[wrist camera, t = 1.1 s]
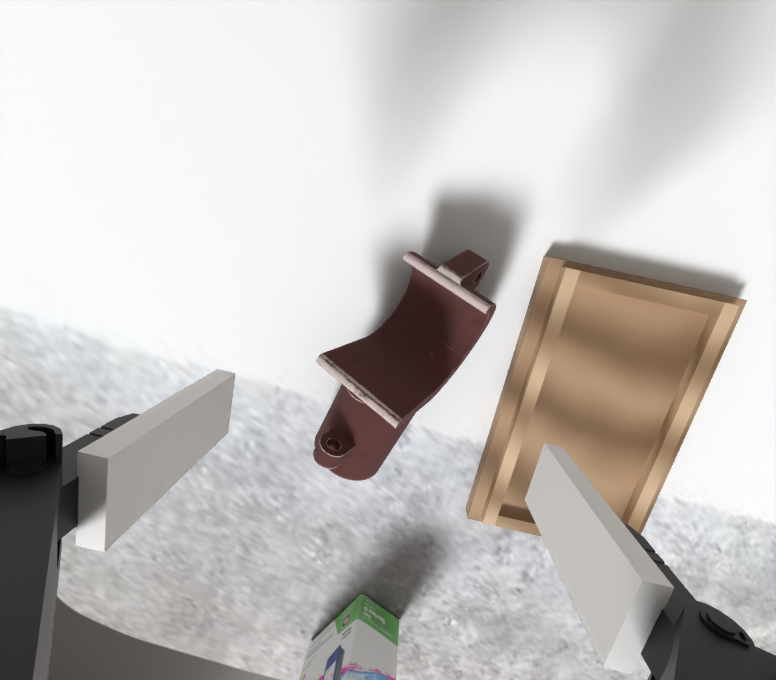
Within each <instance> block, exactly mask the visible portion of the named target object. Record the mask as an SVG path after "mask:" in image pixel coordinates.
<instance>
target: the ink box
mask: <svg viewBox="0 0 776 680" xmlns="http://www.w3.org/2000/svg"><path fill="white" fill-rule="evenodd" d="M398 632H399V619H397V618H396V617H395V616H393V615H392V614H390V613H389V612H388V611H386V610H385V609H383V608H382V607H381V606H379V605H378V604H377V603H375V602H374V601H372V600H371V599H370V598H368V597H367V596H365V595H364V594H360V595H359V596H358V597H357V598H356V599H355V600H354V601H353V602H352V603H351V604H350V605H349V606H348V607H347V608H346V609H345V610H344V611H343V612H342V613H341V614H340V615H339V616H338V617H336V618H335V620H333V621H332V622H331V623H330V624H329V625H328V626H327V627H326V628H325V629H324V630H323V631H322V632H321V633H320V634H319V635H318V636H317V637H316V638H315V639H314V640H313V641H312V642H310V644H309V647H308V651H307V654H306V658H305V661H304V665H303V668H302V672H301V675H300V679H299V680H396V667H397V649H398Z"/></svg>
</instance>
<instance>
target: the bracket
mask: <svg viewBox="0 0 776 680" xmlns="http://www.w3.org/2000/svg"><path fill="white" fill-rule="evenodd" d="M403 260H404V261H406V262H407V263H409V264H410V265H411V266H412V275H411V280H410V283H409V286H408V288H407V291H406V293H405V295H404V297H403V298H402V300H401V302H400V304H399V305H398V307H397V308H396V310H395V311H394V312H393V314H392V315H391V316H390V317H389V319H388V320H387V321H386V322H385V323H384V324H383V325H382V326H381V327H380V328H379V329H378V330H376V331H375V332H374V333H372V334H371V335H369V336H367V337H365V338H362V339H360V340H357V341H354V342H352V343H349V344H346V345H344V346H341V347H338V348H335V349H333V350H330V351H327V352H325V353H322V354H321V355H320V356H319V357H318V358H317V360H316V362H317V363H318V364H319V365H320V366H321V367H323V368H324V369H325V370H326V371H327V372H329V373H330V374H331V375H332V376H333V377H335V378H336V379H337V380H338V381H339V382H341V383H342V386H341V388H340V390H339V392H338V394H337V396H336V397H335V399H334V401H333V403H332V405H331V407H330V409H329V411H328V413H327V415H326V417H325V419H324V421H323V423H322V425H321V427H320V429H319V431H318V433H317V435H316V437H315V450H314V452H313V456H314V459H315V461H316V462H317V463H318V464H319V465H320V466H322V467H324V468H327V469H328V470H330V471H331V472H332V473H334V474H336V475H337V476H339V477H342V478H344V479H348V480H354V481H361V480H366V479H369V478H371V477H372V476H374V475H375V474H376V473H377V471H378V470H379V468H380V467H381V465H382V464H383V462H384V460H385V459H386V457H387V456H388V454H389V453H390V451H391V450H392V448H393V447H394V445H395V444H396V442H397V441H398V439H399V437H400V436H401V434H402V433H403V431H404V430H405V428H406V427H407V425H408V424H409V422H410V421H411V419H412V418H413V416H414V414H415V413H416V412H417V411H418V410H419V409H421V408H422V407H423V406H424V405H425V404H427V403H428V402H429V401H430V400H431V399H432V398H433V397H434V396H435V395H436V394H437V393H438V392H439V391H440V390H441V388H442V387H443V386H444V385H445V384H446V383H447V381H448V380H449V379H450V378H451V376H452V375H453V374H454V373H455V371H456V370H457V369H458V368H459V366H460V365H461V364H462V362H463V361H464V360H465V358H466V357H467V355H468V354H469V353H470V351H471V350H472V348H473V347H474V345H475V344H476V342H477V341H478V339H479V338H480V336H481V335H482V333H483V332H484V330H485V328H486V327H487V325H488V323H489V322H490V320H491V318H492V316H493V314H494V311H495V309H496V304H495V303H493V302H492V301H490V300H488V299H487V298H485V297H484V296H482V295H481V294H479V293H478V292H476V291H474V290H475V288H476V287H477V285H478V284H479V282H480V280H481V279H482V277H483V276H484V274H485V272H486V270H487V268H488V266H489V262H488V261H487V260H485V259H483V258H482V257H480V256H479V255H477V254H475V253H474V252H472V251H470V250H466V251H464V252H462V253H460V254H458V255H457V256H455V257H453V258H451V259H450V260H448V261H446V262H444V263H443V264H441V265H440V267H437V266H435V265H434V264H432V263H431V262H429V261H428V260H426V259H425V258H423V257H421V256H420V255H418V254H417V253H415V252H407V253H406V254H405V255H404V257H403Z"/></svg>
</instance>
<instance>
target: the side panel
mask: <svg viewBox="0 0 776 680" xmlns="http://www.w3.org/2000/svg"><path fill="white" fill-rule="evenodd" d="M746 302H747V300H743V299H739V298H734V297H730V296H725V295H721V294H716V293H712V292H707V291H702V290H698V289H693V288H689V287H684V286H680V285H675V284H671V283H666V282H662V281H657V280H652V279H648V278H643V277H639V276H634V275H630V274H625V273H621V272H616V271H612V270H607V269H602V268H598V267H593V266H589V265H584V264H580V263H575V262H571V261H566V260H562V259H557V258H552V257H544V258H543V261H542V264H541V268H540V271H539V274H538V277H537V280H536V284H535V287H534V290H533V293H532V297H531V300H530V303H529V306H528V309H527V313H526V316H525V319H524V322H523V326H522V329H521V332H520V335H519V339H518V342H517V345H516V348H515V351H514V355H513V358H512V361H511V364H510V368H509V371H508V374H507V377H506V381H505V384H504V387H503V390H502V393H501V397H500V400H499V403H498V406H497V410H496V413H495V416H494V419H493V422H492V426H491V429H490V432H489V435H488V439H487V442H486V445H485V448H484V452H483V455H482V458H481V461H480V464H479V468H478V471H477V474H476V477H475V481H474V484H473V487H472V490H471V493H470V497H469V500H468V503H467V506H466V512H467V517H468V519H472V520H477V521H481V522H483V523H485V524H489V525H494V526H498V527H503V528H507V529H511V530H516V531H520V532H524V533H529V534H533V535H537V536H541V534H540V532H539V529H538V527H537V525H536V523H535V521H534V519H533V517H532V514H531V512H530V510H529V508H528V506H527V504H526V502H525V497H526V495H527V492H528V489H529V486H530V483H531V480H532V477H533V474H534V471H535V469H536V466H537V463H538V460H539V457H540V454H541V451H542V448H543V446H544V443H547V444H551V445H556V446H560V447H563V448H564V449H565V451H566V452H567V453H568V455H569V456H570V457H571V458H572V460H573V461H574V462H575V463H576V465H577V466H578V467H579V468H580V470H581V471H582V472H583V473H584V475H585V476H586V477H587V478H588V480H589V481H590V482H591V483H592V485H593V486H594V487H595V488H596V490H597V491H598V492H599V494H600V495H601V496H602V497H603V499H604V500H605V501H606V502H607V504H608V505H609V506H610V507H611V509H612V510H613V511H614V512H615V514H616V515H617V516H618V517H619V519H620V520H621V521H622V522H623V523H624V524H628V525H629V526H631V527H632V528H633V529H634V530H635V531H637V532H638V533H639V534H640V535H641V533H642V531H643V529H644V526H645V524H646V522H647V520H648V518H649V515H650V513H651V511H652V509H653V506H654V504H655V502H656V500H657V498H658V495H659V493H660V491H661V489H662V487H663V484H664V482H665V480H666V478H667V476H668V473H669V471H670V469H671V467H672V465H673V462H674V460H675V458H676V456H677V454H678V451H679V449H680V447H681V445H682V443H683V440H684V438H685V436H686V434H687V432H688V429H689V427H690V425H691V423H692V421H693V418H694V416H695V414H696V412H697V410H698V407H699V405H700V403H701V401H702V399H703V396H704V394H705V392H706V390H707V388H708V385H709V383H710V381H711V379H712V377H713V374H714V372H715V370H716V368H717V366H718V363H719V361H720V359H721V357H722V355H723V352H724V350H725V348H726V346H727V344H728V341H729V339H730V337H731V335H732V333H733V330H734V328H735V326H736V324H737V322H738V319H739V317H740V315H741V313H742V311H743V308H744V306H745V304H746Z"/></svg>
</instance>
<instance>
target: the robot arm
mask: <svg viewBox="0 0 776 680" xmlns="http://www.w3.org/2000/svg"><path fill="white" fill-rule="evenodd" d="M234 380H235V373H232V372H227V371H223V370H218V369H217V370H215V371H214V372H212V373H210V374H209V375H207V376H205V377H203V378H202V379H200V380H198V381H197V382H195V383H193V384H192V385H190V386H188V387H186V388H185V389H183V390H181V391H180V392H178V393H176V394H175V395H173V396H171V397H169V398H168V399H166V400H164V401H163V402H161V403H159V404H157V405H156V406H154V407H152V408H151V409H149V410H147V411H146V412H144V413H142V414H140V415H139V414H134V413H133V414H129V415H126V416H123V417H119V418H116V419H114V420H112V421H110V422H108V423H106V424H105V425H103V426H101V428H97V429H96V430H94V431H92V432H90V434H89V435H88V434H87V435H85V436H83V437H81V438H79V439H77V440H76V441H74V442H72V443H70V444H68V445H67V446H65V447H63V448H62V439H63V434H62V431H61V429H60V428H58V427H56V426H54V425H47V424H26V425H20V426H14V427H11V428H7V429H4V430H1V431H0V680H48V672H49V662H50V652H51V642H52V634H53V625H54V614H55V605H56V596H57V587H58V577H59V568H60V558H61V549H62V537H63V536H65V535H66V534H67V533H68V532H70V531H71V530H72V529H73V528H75V527H76V545H77V546H81V547H85V548H90V549H94V550H98V551H103V552H105V551H106V550H107V549H108V548H109V547H110V546H111V545H112V544H113V543H114V542H115V541H116V540H117V539H118V538H119V537H120V536H121V535H122V534H123V533H124V532H125V531H127V530H128V529H129V528H130V527H131V526H132V525H133V524H134V523H135V522H136V521H137V520H138V519H139V518H140V517H141V516H142V515H143V514H144V513H145V512H146V511H147V510H148V509H149V508H150V507H151V506H152V505H153V504H154V503H156V502H157V501H158V500H159V499H160V498H161V497H162V496H163V495H164V494H165V493H166V492H167V491H168V490H169V489H170V488H171V487H172V486H173V485H174V484H175V483H176V482H177V481H178V480H179V479H180V478H181V477H182V476H183V475H185V474H186V473H187V472H188V471H189V470H190V469H191V468H192V467H193V466H194V465H195V464H196V463H197V462H198V461H199V460H200V459H201V458H202V457H203V456H204V455H205V454H206V453H207V452H208V451H209V450H210V449H211V448H212V447H213V446H215V445H216V444H217V443H218V442H219V441H220V440H221V439H222V438H223V437H224V436H225V435H226V434H227V433H228V429H229V421H230V413H231V404H232V396H233V388H234ZM525 502H526V504H527V506H528V508H529V510H530V512H531V514H532V517H533V519H534V521H535V523H536V525H537V527H538V529H539V532H540V534H541V536H542V538H543V540H544V542H545V544H546V547H547V549H548V551H549V553H550V555H551V557H552V559H553V562H554V564H555V566H556V568H557V570H558V572H559V574H560V576H561V579H562V581H563V583H564V585H565V587H566V589H567V591H568V594H569V596H570V598H571V600H572V602H573V604H574V606H575V609H576V611H577V613H578V615H579V617H580V619H581V621H582V624H583V626H584V628H585V630H586V632H587V634H588V636H589V639H590V641H591V643H592V645H593V647H594V649H595V651H596V654H597V656H598V658H599V660H600V662H601V664H602V666H603V667H604V668H608V669H612V670H617V671H621V672H625V673H630V674H633V672H634V670H635V668H636V666H637V664H638V662H639V660H640V658H641V656H642V657H643V658H644V660H645V662H646V664H647V665H648V667H649V669H650V671H651V674H650V676H649V678H648V680H776V656H775V655H773V654H771V653H769V652H766V651H764V650H762V649H760V648H758V647H755V645H754V643H753V641H752V639H751V638H750V637H749V636H748V634H747V633H746V632H745V631H744V630H743V629H742V628H741V627H740V626H739V625H738V624H737V623H736V622H734V621H733V620H732V619H731V618H729V617H728V616H726V615H725V614H724V613H722V612H721V611H719V610H717V609H715V608H713V607H711V606H710V605H708V604H705V603H702V602H698V601H696V600H695V599H694V597H693V596H692V595H691V594H690V593H689V591H688V590H687V589H686V588H685V587H684V585H683V584H682V583H681V582H680V581H679V579H678V578H677V577H676V576H675V574H674V573H673V572H672V571H671V570H670V568H669V567H668V566H667V565H665V564H664V563H665V562H664V561H663V560H662V559H661V558H660V556H659V555H658V554H656V553H655V550H654V549H653V548H652V547H651V545H650V544H649V543H648V542H647V541H646V539H645V538H644V537H643V536H641V535H640V534H639V533H638V532H637V531H635V530H634V529H633V528H632V527H631V526H629V525H628V524H624V523H623V522H622V521H621V520H620V519H619V517H618V516H617V515H616V514H615V512H614V511H613V510H612V509H611V507H610V506H609V505H608V504H607V502H606V501H605V500H604V499H603V497H602V496H601V495H600V494H599V492H598V491H597V490H596V488H595V487H594V486H593V485H592V483H591V482H590V481H589V480H588V478H587V477H586V476H585V475H584V473H583V472H582V471H581V470H580V468H579V467H578V466H577V465H576V463H575V462H574V461H573V460H572V458H571V457H570V456H569V455H568V453H567V452H566V451H565V449H564V448H563V447H560V446H556V445H551V444H547V443H544V446H543V448H542V451H541V454H540V457H539V460H538V463H537V466H536V469H535V471H534V474H533V477H532V480H531V483H530V486H529V489H528V492H527V495H526V497H525Z"/></svg>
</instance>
